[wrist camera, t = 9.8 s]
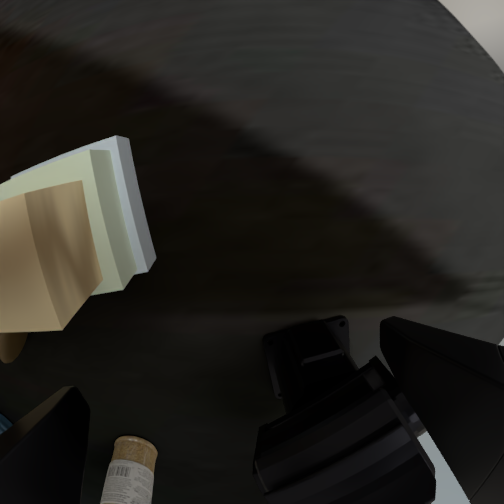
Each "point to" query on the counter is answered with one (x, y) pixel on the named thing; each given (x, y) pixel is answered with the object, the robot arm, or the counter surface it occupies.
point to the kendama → (11, 345)
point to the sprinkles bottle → (130, 472)
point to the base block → (123, 196)
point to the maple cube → (45, 258)
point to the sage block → (89, 209)
